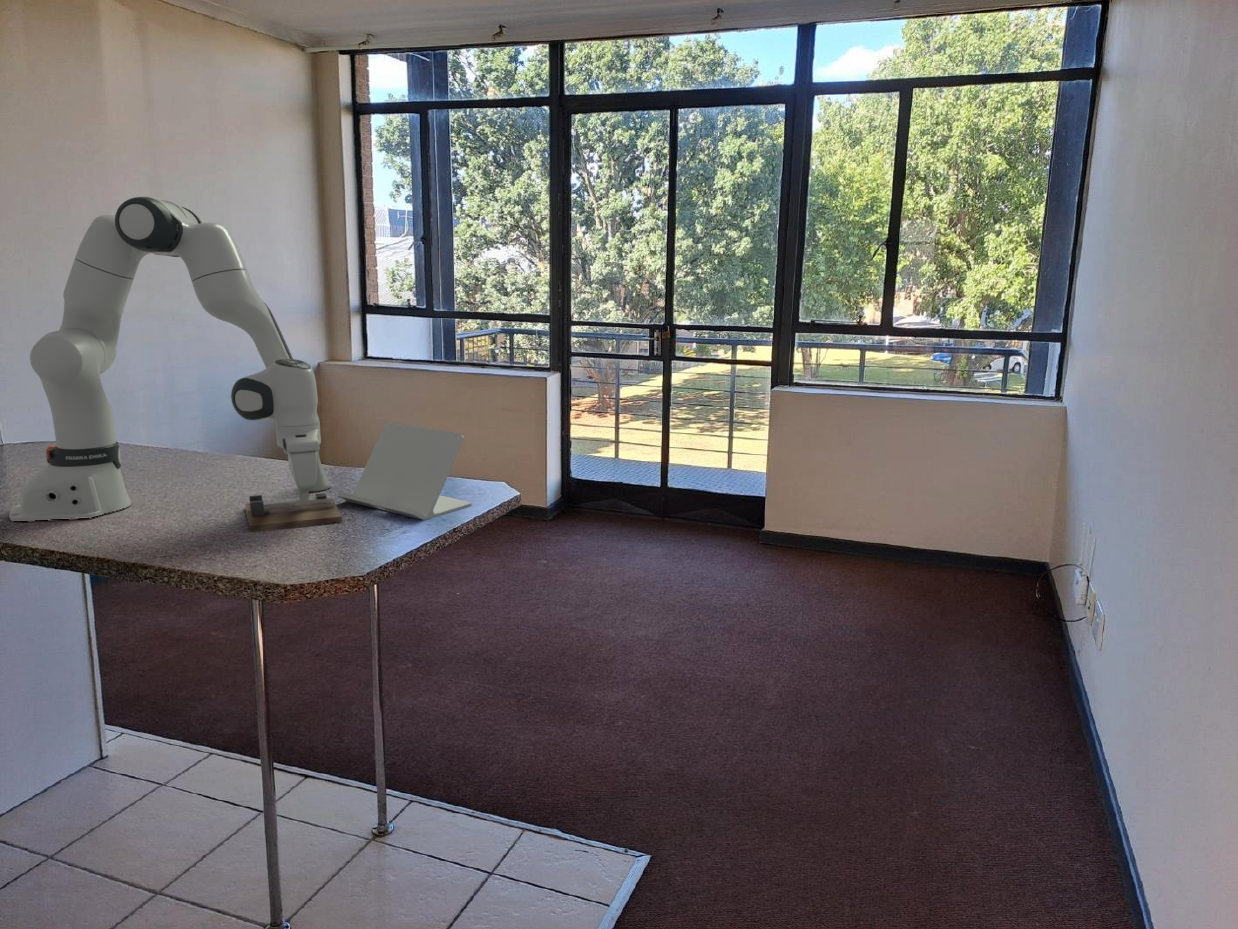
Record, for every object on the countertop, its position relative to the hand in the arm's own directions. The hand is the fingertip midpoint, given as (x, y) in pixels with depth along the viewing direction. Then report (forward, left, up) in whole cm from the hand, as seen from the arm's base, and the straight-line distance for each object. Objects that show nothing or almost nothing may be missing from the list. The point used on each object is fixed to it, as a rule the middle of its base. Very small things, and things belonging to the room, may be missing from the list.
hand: (303, 499), depth 189 cm
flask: (+5, +22, -4) cm, 23 cm away
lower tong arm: (-2, 0, -2) cm, 3 cm away
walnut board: (-2, 0, -3) cm, 4 cm away
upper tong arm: (-2, 0, -2) cm, 3 cm away
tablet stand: (+21, 0, -4) cm, 22 cm away
